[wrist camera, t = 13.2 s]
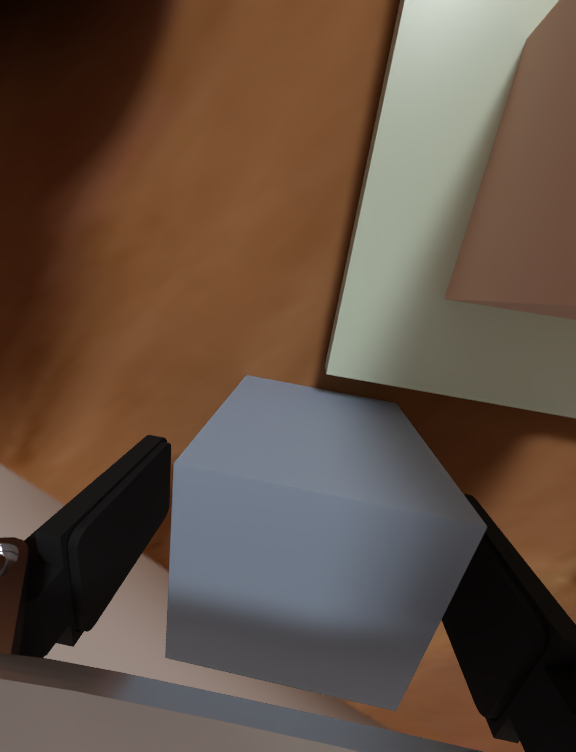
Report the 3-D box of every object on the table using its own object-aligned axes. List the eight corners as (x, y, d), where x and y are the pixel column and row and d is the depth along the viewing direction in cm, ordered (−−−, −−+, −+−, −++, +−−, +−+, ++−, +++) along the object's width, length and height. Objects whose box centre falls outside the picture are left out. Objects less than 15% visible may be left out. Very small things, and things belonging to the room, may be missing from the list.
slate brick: (395, 402, 11) (487, 526, 5) (359, 520, 13) (395, 711, 7) (247, 374, 11) (173, 463, 5) (231, 494, 13) (165, 657, 7)
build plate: (940, -40, 6) (1078, -112, 5) (650, 422, 10) (694, 439, 9) (419, -94, 7) (440, -171, 6) (325, 365, 10) (326, 374, 9)
